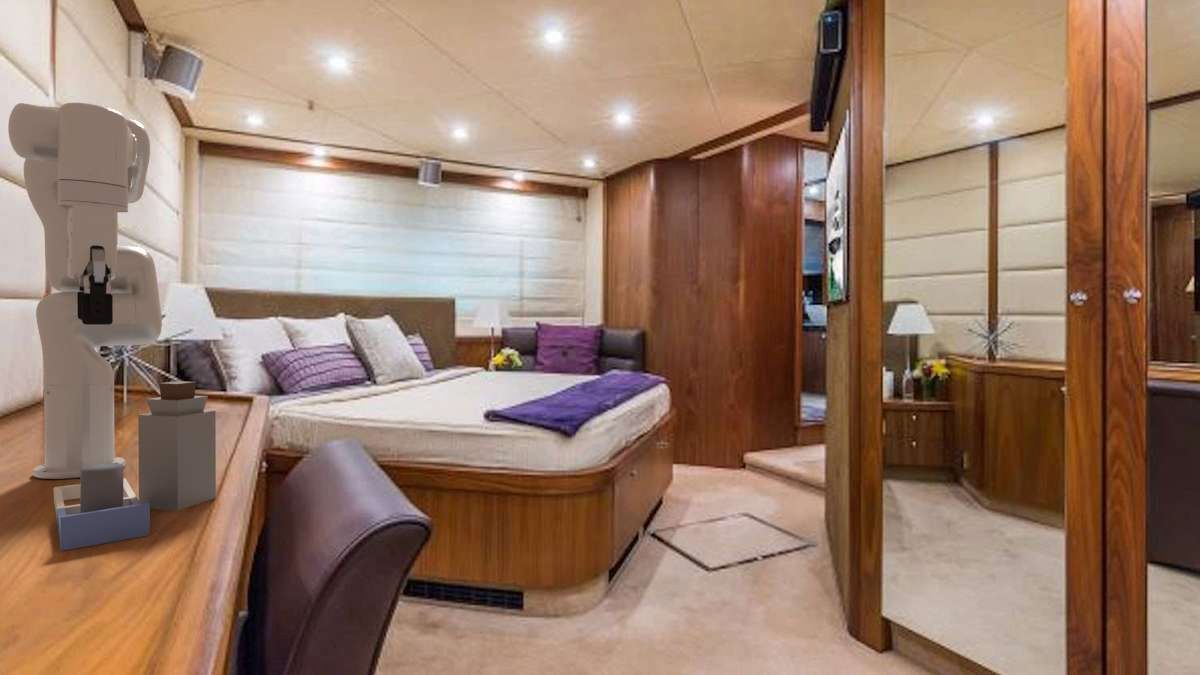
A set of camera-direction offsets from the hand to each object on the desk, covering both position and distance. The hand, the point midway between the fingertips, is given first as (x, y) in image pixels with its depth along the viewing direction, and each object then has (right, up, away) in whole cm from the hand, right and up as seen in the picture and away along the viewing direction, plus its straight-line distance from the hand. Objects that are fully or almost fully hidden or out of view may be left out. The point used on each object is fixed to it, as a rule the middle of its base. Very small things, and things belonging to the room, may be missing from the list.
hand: (94, 321), depth 88 cm
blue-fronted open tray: (+1, -27, -1) cm, 27 cm away
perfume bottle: (+8, -27, +6) cm, 29 cm away
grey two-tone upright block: (+6, -27, -6) cm, 28 cm away
